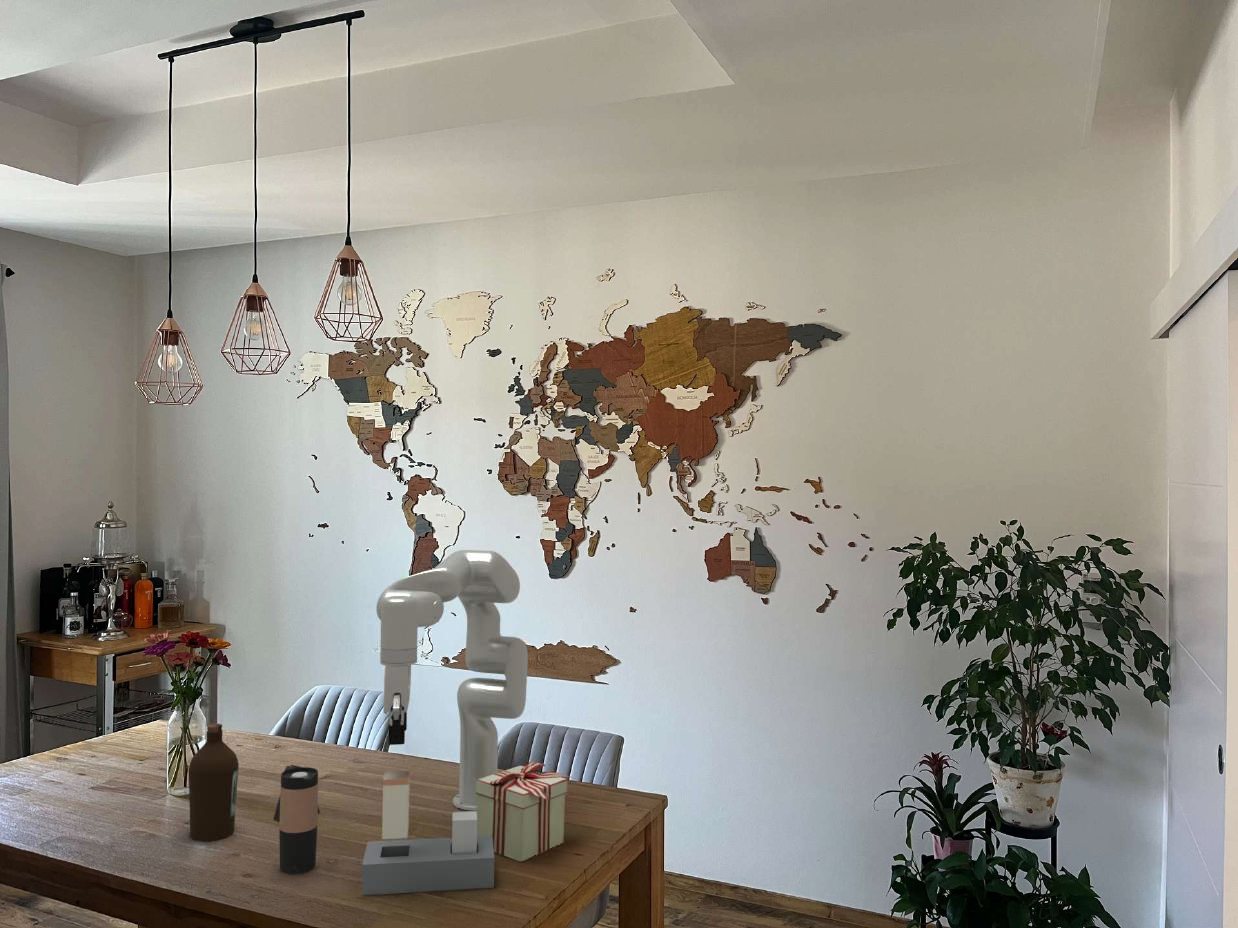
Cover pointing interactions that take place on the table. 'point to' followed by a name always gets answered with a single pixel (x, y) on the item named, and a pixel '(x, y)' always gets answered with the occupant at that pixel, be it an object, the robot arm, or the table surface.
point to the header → (431, 861)
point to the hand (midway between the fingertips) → (397, 737)
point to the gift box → (522, 810)
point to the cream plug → (395, 805)
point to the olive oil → (213, 788)
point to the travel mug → (298, 820)
